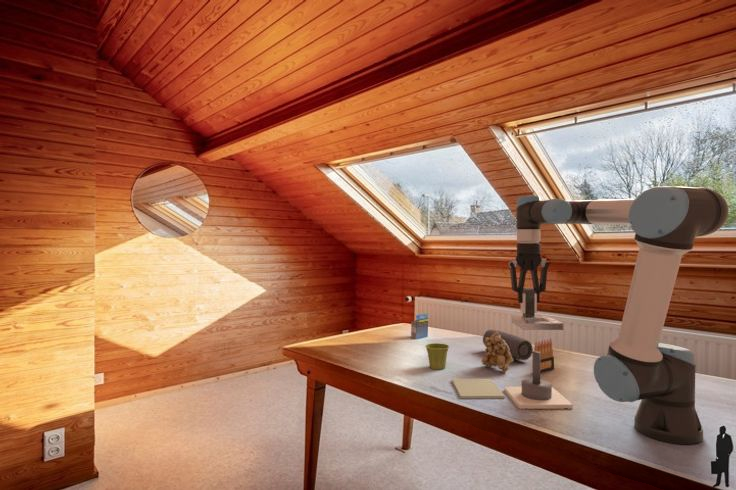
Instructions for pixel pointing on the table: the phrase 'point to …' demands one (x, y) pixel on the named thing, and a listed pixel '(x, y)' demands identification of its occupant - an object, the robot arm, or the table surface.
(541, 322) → the pink square frame
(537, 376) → the stand
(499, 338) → the mineral formation
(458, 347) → the table surface
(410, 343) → the table surface
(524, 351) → the bluetooth speaker
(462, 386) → the mat
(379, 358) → the table surface
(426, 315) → the label tape box
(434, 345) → the plant pot
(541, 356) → the ammunition clip
